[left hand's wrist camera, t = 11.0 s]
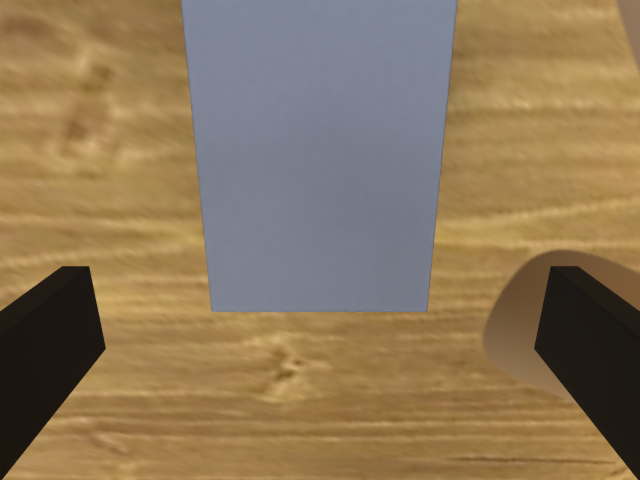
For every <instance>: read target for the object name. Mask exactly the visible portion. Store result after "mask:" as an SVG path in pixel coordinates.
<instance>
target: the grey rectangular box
mask: <svg viewBox="0 0 640 480" xmlns="http://www.w3.org/2000/svg"><path fill="white" fill-rule="evenodd" d="M181 7H182V17H183V27H184V37H185V47H186V58H187V68H188V78H189V88H190V98H191V108H192V118H193V128H194V138H195V148H196V159H197V169H198V179H199V189H200V199H201V209H202V219H203V229H204V239H205V250H206V260H207V270H208V280H209V290H210V300H211V310H212V312H427V307H428V297H429V286H430V276H431V266H432V256H433V245H434V235H435V225H436V215H437V204H438V194H439V184H440V174H441V163H442V153H443V143H444V133H445V122H446V112H447V102H448V92H449V81H450V71H451V61H452V51H453V40H454V30H455V20H456V10H457V0H181Z"/></svg>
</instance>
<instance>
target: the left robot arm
mask: <svg viewBox="0 0 640 480" xmlns="http://www.w3.org/2000/svg"><path fill="white" fill-rule="evenodd" d="M105 349H106V347H105V342H104V337H103V332H102V327H101V322H100V317H99V312H98V308H97V303H96V298H95V293H94V288H93V283H92V278H91V273H90V268H89V266H62V267H61V268H59V269H58V270H56V271H55V272H54V273H52V274H51V275H50V276H48V277H47V278H45V279H44V280H43V281H41V282H40V283H39V284H37V285H36V286H34V287H33V288H32V289H30V290H29V291H28V292H26V293H25V294H23V295H22V296H21V297H19V298H18V299H17V300H15V301H14V302H12V303H11V304H10V305H8V306H7V307H6V308H4V309H3V310H1V311H0V480H2V479H3V478H4V476H5V475H6V474H7V473H8V471H9V470H10V469H11V468H12V466H13V465H14V464H15V463H16V461H17V460H18V459H19V458H20V456H21V455H22V454H23V452H24V451H25V450H26V449H27V447H28V446H29V445H30V444H31V442H32V441H33V440H34V439H35V437H36V436H37V435H38V434H39V432H40V431H41V430H42V429H43V427H44V426H45V425H46V424H47V422H48V421H49V420H50V418H51V417H52V416H53V415H54V413H55V412H56V411H57V410H58V408H59V407H60V406H61V405H62V403H63V402H64V401H65V400H66V398H67V397H68V396H69V395H70V393H71V392H72V391H73V389H74V388H75V387H76V386H77V384H78V383H79V382H80V381H81V379H82V378H83V377H84V376H85V374H86V373H87V372H88V371H89V369H90V368H91V367H92V366H93V364H94V363H95V362H96V360H97V359H98V358H99V357H100V355H101V354H102V353H103V352H104V350H105ZM534 349H535V350H536V352H537V353H538V354H539V355H540V357H541V358H542V359H543V360H544V362H545V363H546V364H547V366H548V367H549V368H550V369H551V371H552V372H553V373H554V374H555V376H556V377H557V378H558V379H559V381H560V382H561V383H562V384H563V386H564V387H565V388H566V389H567V391H568V392H569V393H570V394H571V396H572V397H573V398H574V400H575V401H576V402H577V403H578V405H579V406H580V407H581V408H582V410H583V411H584V412H585V413H586V415H587V416H588V417H589V418H590V420H591V421H592V422H593V424H594V425H595V426H596V427H597V429H598V430H599V431H600V432H601V434H602V435H603V436H604V437H605V439H606V440H607V441H608V442H609V444H610V445H611V446H612V447H613V449H614V450H615V451H616V452H617V454H618V455H619V456H620V458H621V459H622V460H623V461H624V463H625V464H626V465H627V466H628V468H629V469H630V470H631V471H632V473H633V474H634V475H635V476H636V478H637V479H638V480H640V311H639V310H637V309H636V308H634V307H633V306H632V305H630V304H629V303H628V302H626V301H625V300H623V299H622V298H621V297H619V296H618V295H617V294H615V293H614V292H612V291H611V290H610V289H608V288H607V287H606V286H604V285H603V284H601V283H600V282H599V281H597V280H596V279H595V278H593V277H592V276H590V275H589V274H588V273H586V272H585V271H584V270H582V269H581V268H579V267H578V266H551V268H550V273H549V278H548V283H547V288H546V293H545V298H544V303H543V308H542V313H541V317H540V322H539V327H538V332H537V337H536V342H535V347H534Z"/></svg>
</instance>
